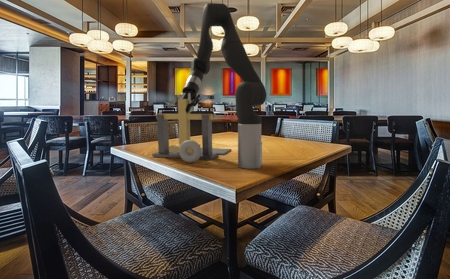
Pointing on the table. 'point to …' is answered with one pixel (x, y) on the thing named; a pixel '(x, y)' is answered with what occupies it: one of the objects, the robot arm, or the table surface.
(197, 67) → the robot arm
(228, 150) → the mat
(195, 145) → the donut
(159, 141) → the stand
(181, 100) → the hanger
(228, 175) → the table surface
